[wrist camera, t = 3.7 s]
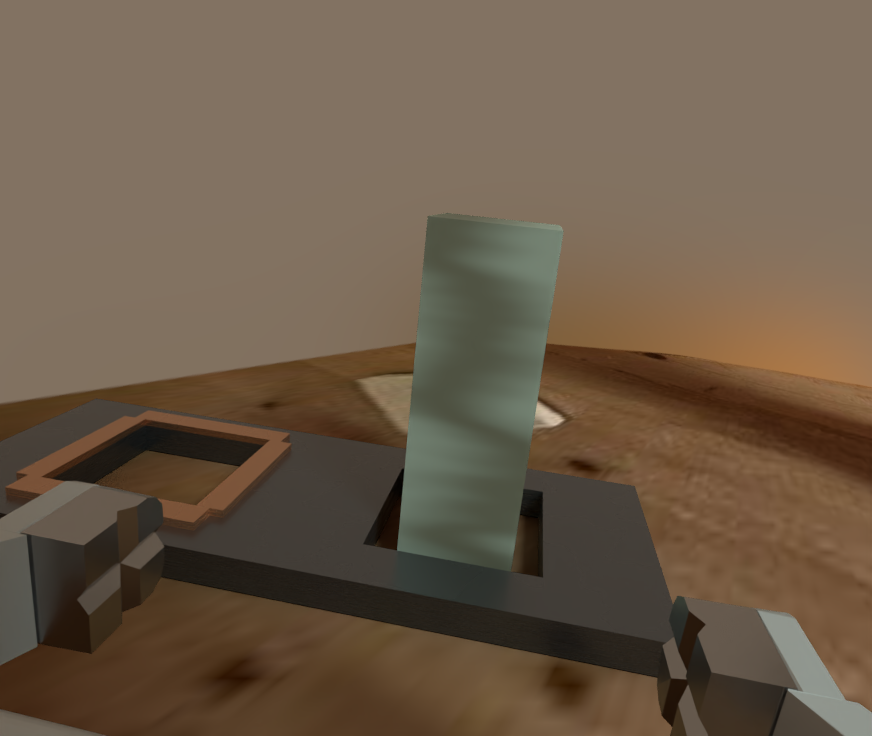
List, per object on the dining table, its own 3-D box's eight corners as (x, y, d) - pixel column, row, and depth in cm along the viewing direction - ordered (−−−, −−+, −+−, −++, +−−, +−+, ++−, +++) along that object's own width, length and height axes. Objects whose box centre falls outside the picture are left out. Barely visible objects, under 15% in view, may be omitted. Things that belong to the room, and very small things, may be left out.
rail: (629, 510, 27) (636, 480, 26) (677, 681, 17) (688, 637, 17) (97, 421, 30) (96, 392, 30) (-106, 522, 21) (-112, 482, 20)
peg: (513, 526, 25) (559, 225, 21) (508, 585, 21) (563, 231, 17) (417, 509, 25) (447, 213, 22) (395, 564, 21) (427, 215, 18)
